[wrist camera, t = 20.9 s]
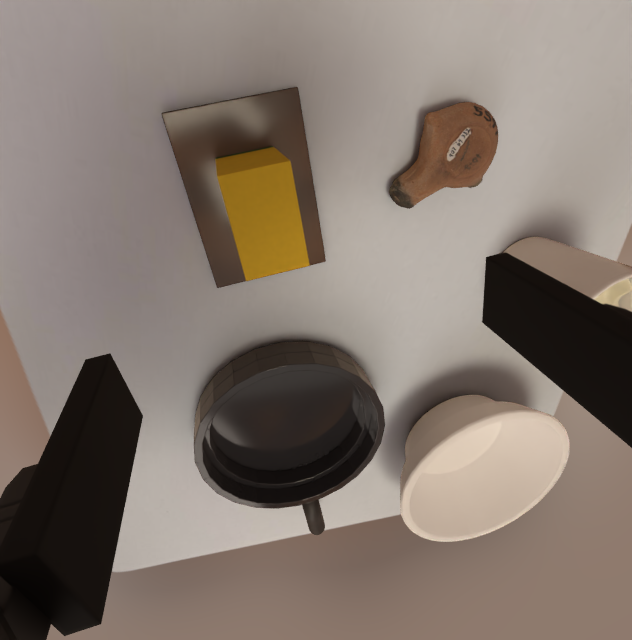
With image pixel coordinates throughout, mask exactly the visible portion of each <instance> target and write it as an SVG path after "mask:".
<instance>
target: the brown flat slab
mask: <svg viewBox="0 0 632 640" xmlns="http://www.w3.org/2000/svg"><path fill="white" fill-rule="evenodd" d="M162 117H163V120H164V123H165V127H166V130H167V133H168V136H169V139H170V142H171V145H172V148H173V152H174V155H175V158H176V161H177V164H178V167H179V170H180V173H181V176H182V180H183V183H184V186H185V189H186V192H187V195H188V198H189V201H190V204H191V208H192V211H193V214H194V217H195V220H196V223H197V226H198V229H199V232H200V236H201V239H202V242H203V245H204V248H205V251H206V254H207V257H208V260H209V264H210V267H211V270H212V273H213V276H214V279H215V282H216V285H217V288H219V287H224V286H228V285H232V284H236V283H240V282H244V281H246V279H245V275H244V272H243V268H242V264H241V261H240V257H239V254H238V250H237V246H236V243H235V239H234V236H233V232H232V228H231V225H230V221H229V218H228V214H227V210H226V207H225V203H224V200H223V196H222V192H221V189H220V185H219V182H218V178H217V170H216V161H215V158H216V157H221V156H226V155H231V154H236V153H240V152H245V151H250V150H255V149H260V148H264V147H269V146H273V147H274V148H276V149H277V150H278V151H279V152H280V153H282V154H283V155H284V156H285V157H286V158H288V159H289V160H290V161H291V166H292V172H293V177H294V183H295V188H296V194H297V199H298V205H299V210H300V215H301V221H302V226H303V232H304V237H305V243H306V248H307V254H308V259H309V264H310V265H313V264H317V263H321V262H325V261H326V260H325V254H324V247H323V241H322V235H321V229H320V222H319V216H318V210H317V204H316V198H315V191H314V185H313V179H312V173H311V166H310V160H309V154H308V148H307V142H306V135H305V129H304V123H303V117H302V110H301V104H300V98H299V92H298V87H294V88H289V89H284V90H279V91H273V92H268V93H263V94H258V95H253V96H247V97H242V98H237V99H232V100H227V101H221V102H216V103H211V104H206V105H201V106H196V107H190V108H185V109H180V110H175V111H170V112H164V113H162Z"/></svg>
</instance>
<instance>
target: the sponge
mask: <svg viewBox="0 0 632 640" xmlns="http://www.w3.org/2000/svg"><path fill="white" fill-rule="evenodd" d="M215 161H216V170H217V178H218V182H219V185H220V189H221V192H222V196H223V200H224V203H225V207H226V210H227V214H228V218H229V221H230V225H231V228H232V232H233V236H234V239H235V243H236V246H237V250H238V254H239V257H240V261H241V264H242V268H243V272H244V275H245V279H246V281H249V280H253V279H257V278H261V277H265V276H269V275H274V274H278V273H282V272H286V271H290V270H294V269H298V268H302V267H306V266H309V265H310V264H309V259H308V254H307V248H306V243H305V237H304V232H303V226H302V221H301V215H300V210H299V205H298V199H297V194H296V188H295V183H294V177H293V172H292V166H291V161H290V160H289V159H288V158H286V157H285V156H284V155H283V154H282V153H280V152H279V151H278V150H277V149H276V148H274V147H273V146H269V147H264V148H260V149H255V150H250V151H245V152H240V153H236V154H231V155H226V156H221V157H216V158H215Z"/></svg>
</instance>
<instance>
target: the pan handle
mask: <svg viewBox="0 0 632 640" xmlns="http://www.w3.org/2000/svg"><path fill="white" fill-rule="evenodd" d="M302 506H303V509H304V513H305V516H306V520H307V523H308V527H309V530H310V532H311V533H312V534H314V535H319V534H321V533H322V532H323V531H324V528H325V524H324V520H323V516H322V512H321V508H320V504H319V500H314V501H311V502H308V503H305V504H302Z"/></svg>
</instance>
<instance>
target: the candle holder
mask: <svg viewBox="0 0 632 640" xmlns="http://www.w3.org/2000/svg"><path fill="white" fill-rule="evenodd" d="M505 252H506V253H508V254H510V255H512V256H514V257H516V258H518V259H519V260H521V261H523V262H525V263H527V264H529V265H531V266H532V267H534V268H536V269H538V270H540V271H542V272H544V273H545V274H547V275H549V276H551V277H553V278H555V279H557V280H558V281H560V282H562V283H564V284H566V285H568V286H570V287H571V288H573V289H575V290H577V291H579V292H581V293H583V294H584V295H586V296H588V297H590V298H592V299H594V300H596V301H597V302H599V303H601V304H610V305H613V306H617V307H620V308H624V309H627V310H629V311H631V312H632V267H631V266H628V265H625V264H622V263H619V262H616V261H613V260H610V259H607V258H604V257H601V256H598V255H596V254H593V253H590V252H587V251H584V250H581V249H578V248H575V247H572V246H569V245H566V244H563V243H560V242H557V241H554V240H551V239H547V238H543V237H529V238H525V239H522V240H520V241H518V242H516V243H514V244H512V245H511V246H510V247H508V248H507V249H506V250H505V251H504V252H503V253H505Z"/></svg>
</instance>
